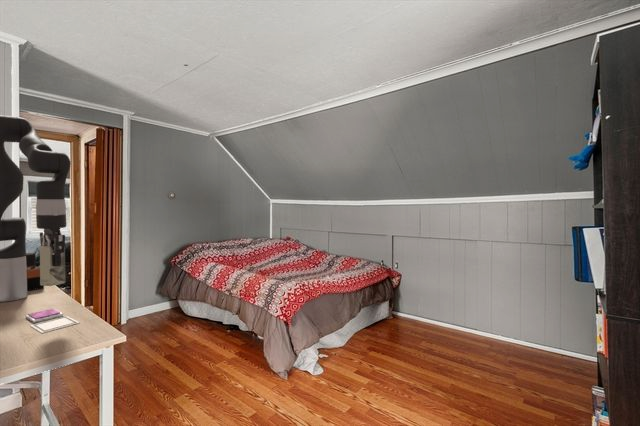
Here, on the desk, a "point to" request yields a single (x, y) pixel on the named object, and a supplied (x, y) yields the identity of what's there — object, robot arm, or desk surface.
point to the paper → (54, 324)
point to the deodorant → (31, 260)
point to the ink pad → (43, 315)
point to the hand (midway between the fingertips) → (53, 264)
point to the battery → (33, 279)
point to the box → (51, 268)
